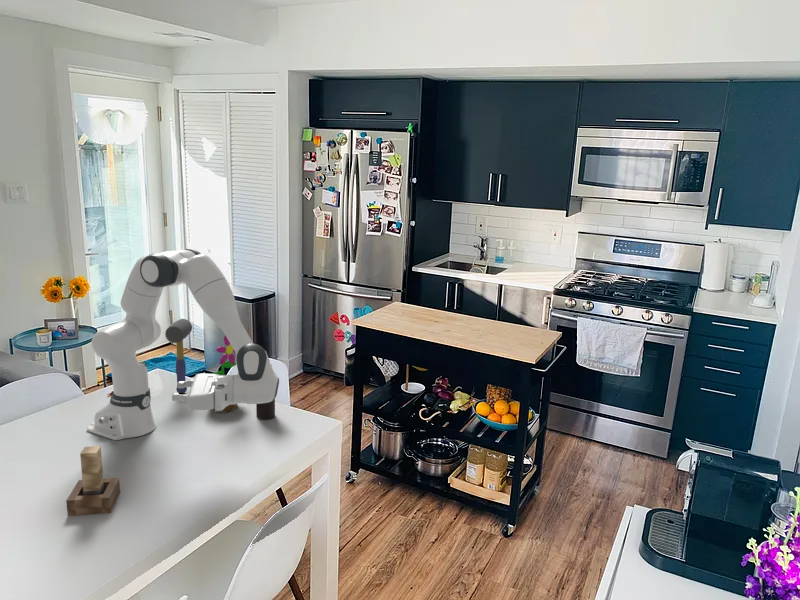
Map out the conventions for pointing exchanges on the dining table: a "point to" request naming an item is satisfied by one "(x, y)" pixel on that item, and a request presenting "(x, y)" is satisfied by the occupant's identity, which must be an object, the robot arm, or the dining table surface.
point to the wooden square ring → (93, 499)
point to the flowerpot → (226, 366)
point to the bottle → (265, 410)
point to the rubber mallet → (179, 347)
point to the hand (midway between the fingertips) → (175, 390)
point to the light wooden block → (92, 471)
